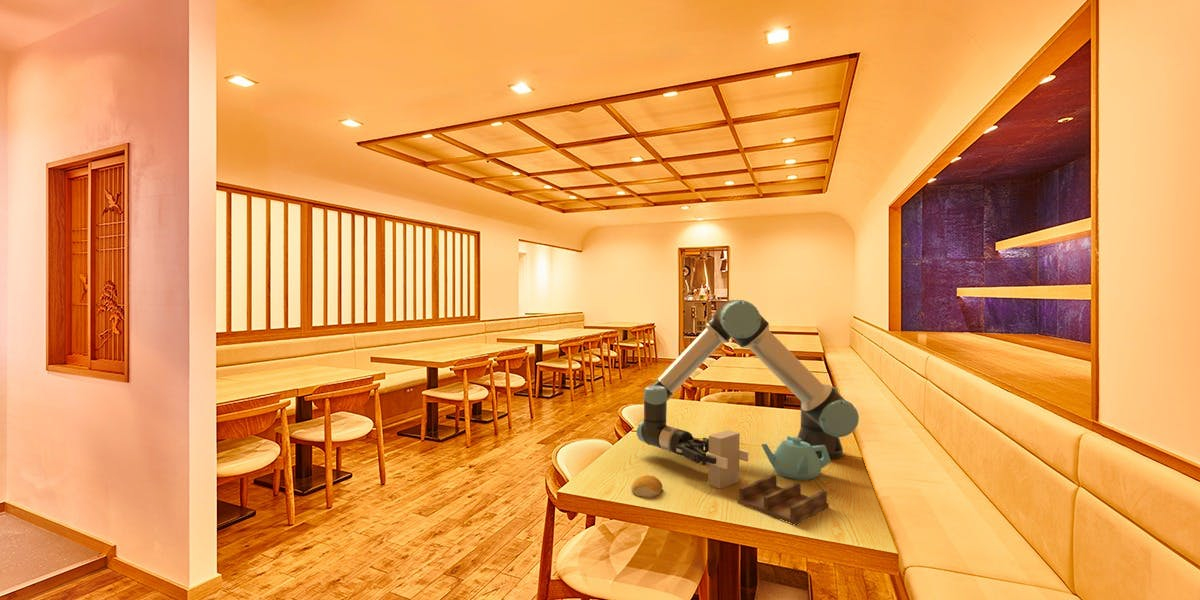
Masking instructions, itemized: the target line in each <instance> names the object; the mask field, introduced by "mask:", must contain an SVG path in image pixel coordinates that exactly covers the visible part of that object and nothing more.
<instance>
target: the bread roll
mask: <svg viewBox="0 0 1200 600" xmlns="http://www.w3.org/2000/svg"><path fill="white" fill-rule="evenodd" d="M630 488H631V492H632V493H633V494H634V495H635V496H638V497H643V498H654V497H657V496H659V495H660V494H661V492H662V490H663V483H662V482H661V480H659V478H658V477H656V476H654V475H649V474H645V475H642V476H638V477H637V478H636V479H634V481H633V482H632V484H631V486H630Z"/></svg>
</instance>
